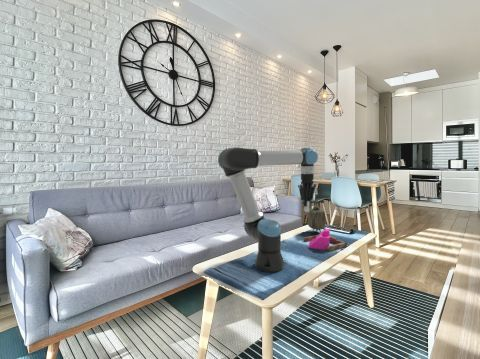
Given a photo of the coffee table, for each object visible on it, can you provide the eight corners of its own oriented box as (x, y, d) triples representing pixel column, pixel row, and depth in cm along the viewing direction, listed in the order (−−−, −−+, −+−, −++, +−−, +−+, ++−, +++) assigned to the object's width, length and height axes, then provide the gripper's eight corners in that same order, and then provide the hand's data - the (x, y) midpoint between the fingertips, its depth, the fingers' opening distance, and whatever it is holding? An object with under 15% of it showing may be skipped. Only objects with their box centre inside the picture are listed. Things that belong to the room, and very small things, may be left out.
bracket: (329, 244, 161) (329, 229, 160) (329, 250, 151) (329, 233, 150) (310, 242, 165) (310, 227, 164) (308, 248, 156) (308, 231, 155)
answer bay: (328, 251, 149) (328, 246, 149) (303, 241, 168) (303, 236, 168) (346, 246, 156) (346, 241, 156) (321, 237, 175) (321, 232, 175)
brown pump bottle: (324, 235, 179) (325, 201, 177) (312, 235, 180) (312, 201, 178) (318, 229, 194) (319, 198, 192) (307, 230, 194) (307, 198, 192)
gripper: (303, 173, 145) (302, 213, 147) (319, 173, 151) (319, 211, 153) (294, 173, 152) (294, 211, 154) (310, 172, 158) (310, 209, 160)
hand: (306, 211), depth 153 cm, fingers closed
